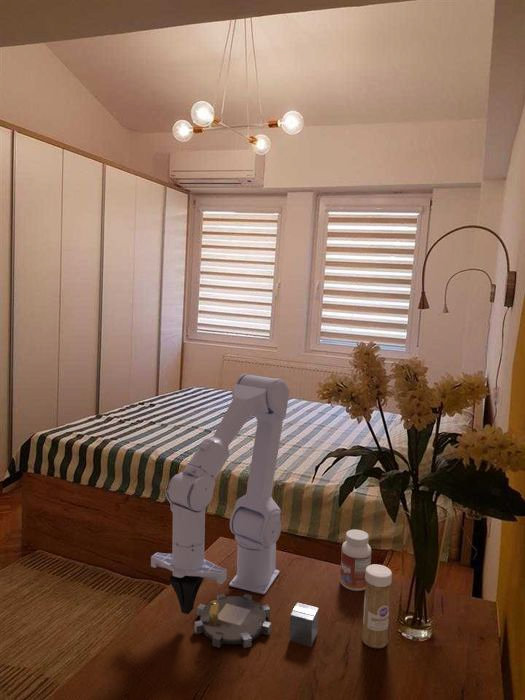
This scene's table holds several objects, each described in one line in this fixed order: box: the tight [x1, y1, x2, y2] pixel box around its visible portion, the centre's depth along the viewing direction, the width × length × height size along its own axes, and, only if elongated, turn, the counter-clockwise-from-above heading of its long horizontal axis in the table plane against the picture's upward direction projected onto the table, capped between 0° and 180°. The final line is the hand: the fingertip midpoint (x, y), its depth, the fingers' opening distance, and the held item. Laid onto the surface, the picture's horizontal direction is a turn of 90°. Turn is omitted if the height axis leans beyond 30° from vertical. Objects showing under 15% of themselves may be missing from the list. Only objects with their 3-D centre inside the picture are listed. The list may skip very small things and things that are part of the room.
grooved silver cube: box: [289, 602, 319, 647], centre depth 94 cm, size 4×4×5 cm
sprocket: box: [193, 593, 272, 649], centre depth 97 cm, size 14×14×6 cm
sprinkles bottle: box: [361, 563, 393, 649], centre depth 93 cm, size 5×5×13 cm
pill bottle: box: [339, 529, 372, 592], centre depth 112 cm, size 6×6×11 cm
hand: (187, 610), depth 96 cm, fingers closed
